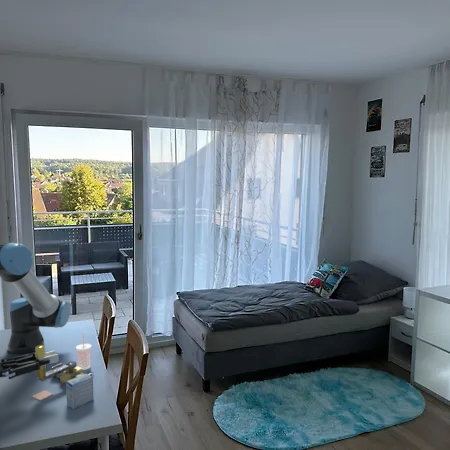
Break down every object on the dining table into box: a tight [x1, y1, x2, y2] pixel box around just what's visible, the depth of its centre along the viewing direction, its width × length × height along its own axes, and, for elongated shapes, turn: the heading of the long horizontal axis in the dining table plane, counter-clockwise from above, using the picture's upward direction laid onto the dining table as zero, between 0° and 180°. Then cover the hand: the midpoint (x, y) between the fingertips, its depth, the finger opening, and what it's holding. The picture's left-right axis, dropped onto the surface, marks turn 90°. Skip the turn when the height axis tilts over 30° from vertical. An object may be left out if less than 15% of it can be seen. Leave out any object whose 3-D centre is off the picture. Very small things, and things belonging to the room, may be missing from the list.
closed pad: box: [31, 389, 54, 402], centre depth 149 cm, size 5×5×1 cm
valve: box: [50, 362, 93, 386], centre depth 160 cm, size 18×6×6 cm, turn 58°
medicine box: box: [65, 373, 95, 410], centre depth 144 cm, size 8×4×9 cm, turn 141°
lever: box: [34, 344, 78, 382], centre depth 154 cm, size 16×4×12 cm, turn 148°
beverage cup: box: [75, 334, 92, 371], centre depth 172 cm, size 6×6×14 cm
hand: (56, 355), depth 151 cm, fingers closed on lever, 3 cm apart
